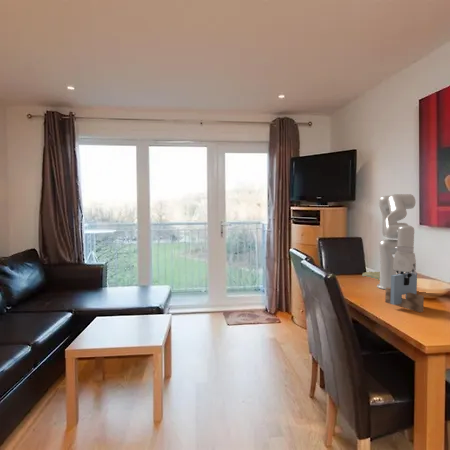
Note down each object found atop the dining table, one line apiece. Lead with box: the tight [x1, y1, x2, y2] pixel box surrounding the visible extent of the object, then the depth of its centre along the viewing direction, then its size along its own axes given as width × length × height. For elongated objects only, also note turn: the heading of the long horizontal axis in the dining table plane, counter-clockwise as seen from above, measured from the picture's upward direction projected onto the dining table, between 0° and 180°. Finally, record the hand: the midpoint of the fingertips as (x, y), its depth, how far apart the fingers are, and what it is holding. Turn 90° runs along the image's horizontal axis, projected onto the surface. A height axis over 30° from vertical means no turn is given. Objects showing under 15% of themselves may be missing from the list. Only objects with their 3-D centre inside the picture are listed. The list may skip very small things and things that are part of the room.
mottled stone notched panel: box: [384, 287, 425, 313], centre depth 178 cm, size 20×2×8 cm, turn 27°
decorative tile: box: [361, 271, 380, 281], centre depth 252 cm, size 19×20×4 cm
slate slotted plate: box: [389, 272, 418, 306], centre depth 177 cm, size 18×2×15 cm, turn 117°
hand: (404, 284), depth 177 cm, fingers closed on slate slotted plate, 2 cm apart
